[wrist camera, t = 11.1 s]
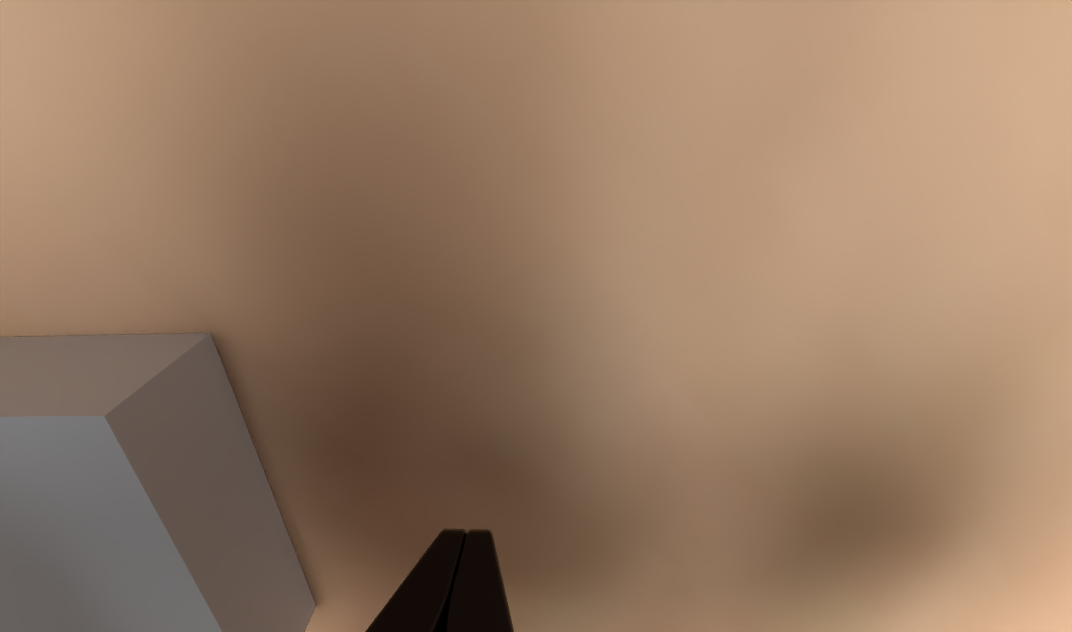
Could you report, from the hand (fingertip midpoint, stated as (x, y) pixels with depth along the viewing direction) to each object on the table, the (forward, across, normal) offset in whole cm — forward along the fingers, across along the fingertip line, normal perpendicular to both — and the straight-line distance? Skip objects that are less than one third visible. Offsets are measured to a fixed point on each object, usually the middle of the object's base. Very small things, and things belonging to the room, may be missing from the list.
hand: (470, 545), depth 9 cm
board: (+1, +8, 0) cm, 8 cm away
